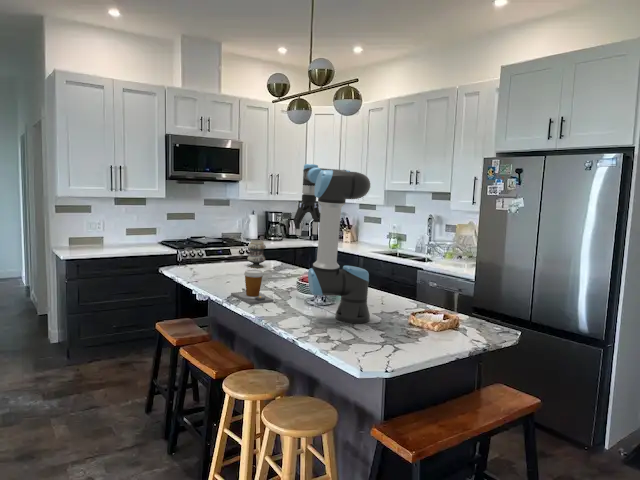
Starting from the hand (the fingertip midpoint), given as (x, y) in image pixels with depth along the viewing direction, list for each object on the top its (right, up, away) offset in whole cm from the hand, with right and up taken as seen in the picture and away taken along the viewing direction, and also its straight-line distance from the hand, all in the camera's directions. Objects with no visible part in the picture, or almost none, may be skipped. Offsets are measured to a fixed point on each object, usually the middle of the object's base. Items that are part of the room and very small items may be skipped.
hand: (306, 234), depth 253 cm
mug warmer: (-27, -32, -13) cm, 44 cm away
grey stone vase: (-36, -21, +74) cm, 85 cm away
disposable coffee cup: (-26, -30, -13) cm, 42 cm away
